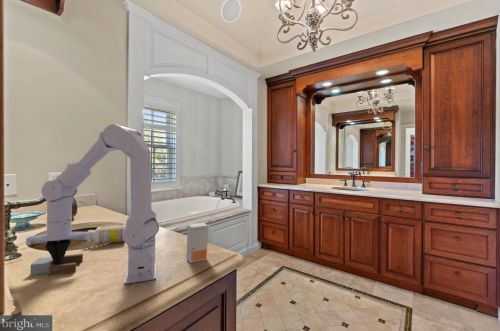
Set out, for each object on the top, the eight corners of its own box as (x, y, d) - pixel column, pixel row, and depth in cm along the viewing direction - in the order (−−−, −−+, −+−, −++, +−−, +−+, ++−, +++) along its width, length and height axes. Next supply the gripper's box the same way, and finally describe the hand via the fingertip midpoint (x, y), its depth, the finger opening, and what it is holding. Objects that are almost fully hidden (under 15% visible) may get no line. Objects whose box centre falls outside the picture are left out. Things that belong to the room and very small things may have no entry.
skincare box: (190, 263, 74) (191, 227, 74) (186, 259, 78) (187, 224, 78) (207, 260, 78) (208, 225, 77) (202, 255, 81) (203, 222, 81)
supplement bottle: (126, 231, 98) (90, 235, 92) (126, 221, 94) (89, 223, 89) (125, 244, 93) (87, 248, 87) (125, 233, 89) (85, 237, 84)
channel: (75, 272, 67) (75, 263, 67) (49, 275, 64) (49, 267, 64) (82, 261, 74) (82, 253, 74) (59, 263, 72) (60, 256, 72)
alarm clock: (77, 219, 124) (78, 189, 123) (65, 221, 119) (66, 190, 119) (69, 216, 129) (69, 188, 129) (57, 218, 125) (58, 189, 125)
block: (49, 273, 66) (49, 262, 66) (30, 274, 64) (30, 264, 64) (57, 266, 70) (57, 256, 70) (39, 267, 69) (39, 258, 69)
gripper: (91, 215, 75) (90, 256, 75) (34, 218, 69) (34, 262, 69) (85, 220, 68) (84, 265, 68) (22, 224, 63) (21, 273, 63)
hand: (58, 265), depth 68 cm, fingers closed
